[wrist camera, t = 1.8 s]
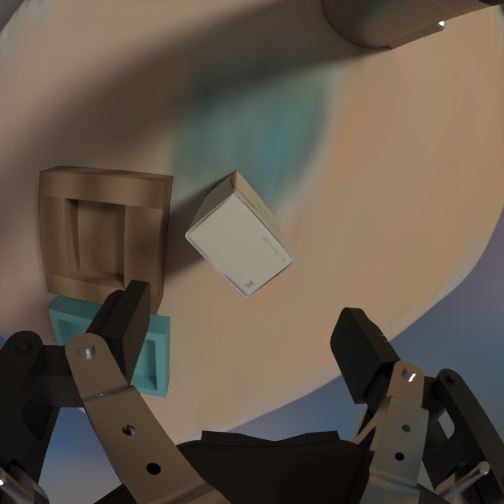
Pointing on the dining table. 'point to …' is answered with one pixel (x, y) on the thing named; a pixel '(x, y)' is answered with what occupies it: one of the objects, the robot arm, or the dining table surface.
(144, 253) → the wooden square frame
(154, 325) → the tray
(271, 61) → the dining table surface
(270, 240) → the skincare box
